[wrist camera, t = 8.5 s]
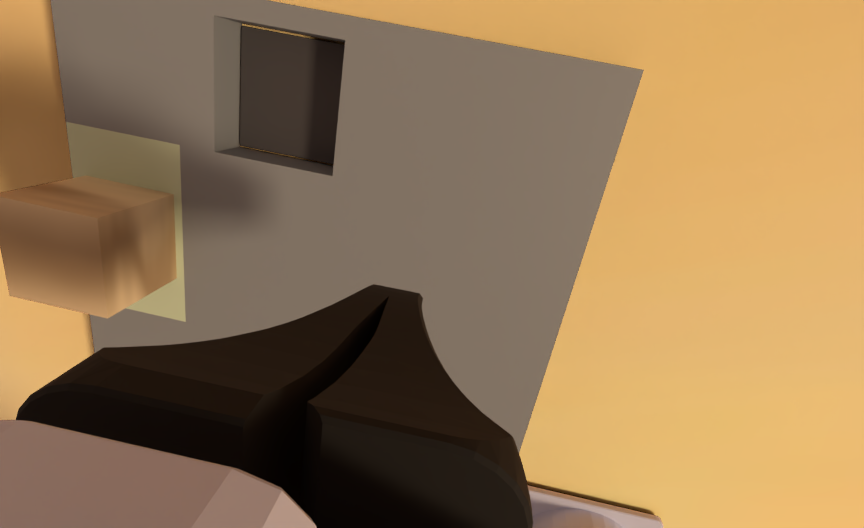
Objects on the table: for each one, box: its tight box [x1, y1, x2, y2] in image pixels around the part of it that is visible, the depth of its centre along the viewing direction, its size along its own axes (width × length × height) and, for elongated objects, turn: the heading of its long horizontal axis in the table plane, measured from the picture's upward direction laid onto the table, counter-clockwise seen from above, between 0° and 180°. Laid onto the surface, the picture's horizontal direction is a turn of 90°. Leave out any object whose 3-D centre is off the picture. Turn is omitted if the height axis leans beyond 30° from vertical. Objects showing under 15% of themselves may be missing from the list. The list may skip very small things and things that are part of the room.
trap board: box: [51, 0, 643, 452], centre depth 21 cm, size 20×22×2 cm
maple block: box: [0, 176, 177, 318], centre depth 18 cm, size 4×4×4 cm
